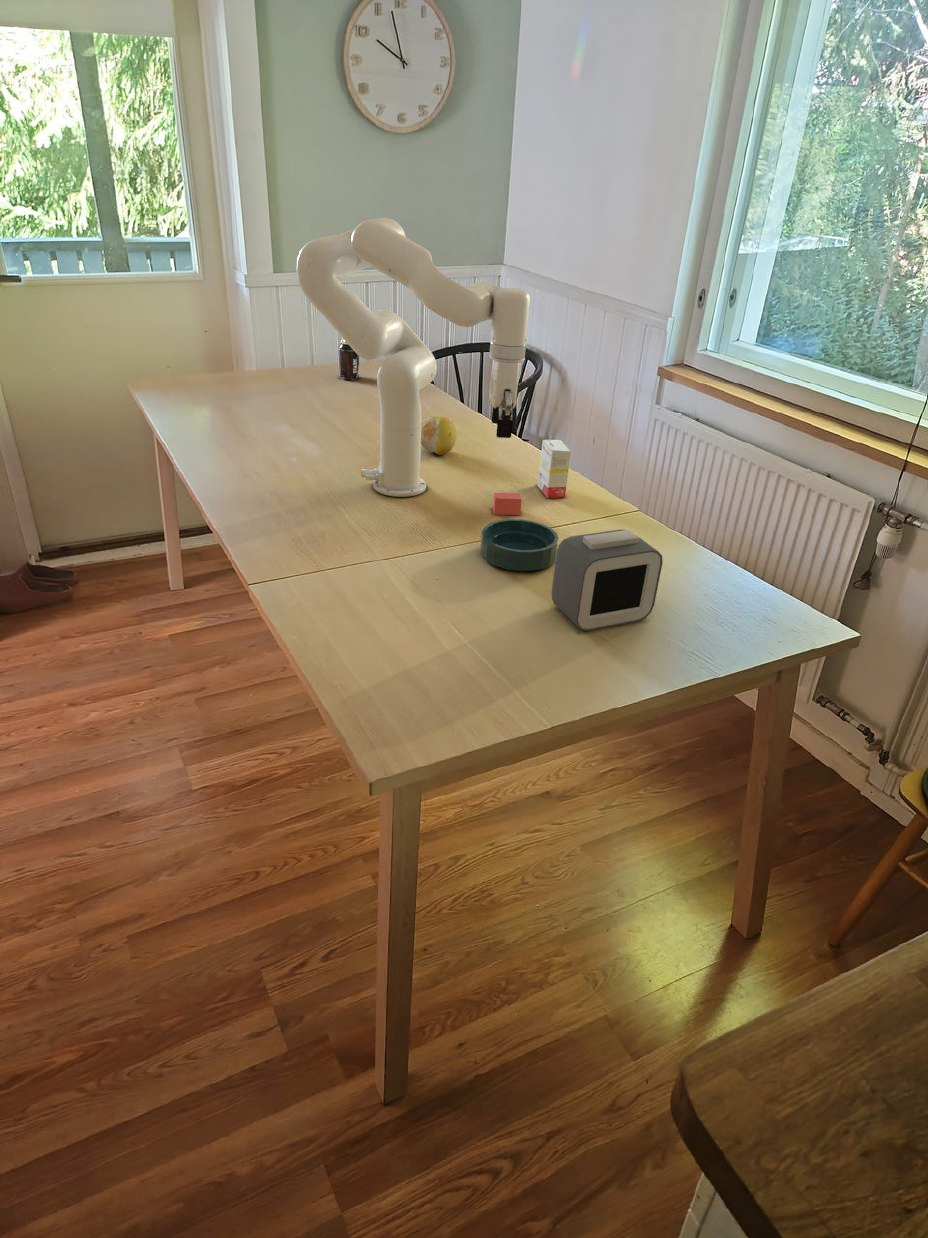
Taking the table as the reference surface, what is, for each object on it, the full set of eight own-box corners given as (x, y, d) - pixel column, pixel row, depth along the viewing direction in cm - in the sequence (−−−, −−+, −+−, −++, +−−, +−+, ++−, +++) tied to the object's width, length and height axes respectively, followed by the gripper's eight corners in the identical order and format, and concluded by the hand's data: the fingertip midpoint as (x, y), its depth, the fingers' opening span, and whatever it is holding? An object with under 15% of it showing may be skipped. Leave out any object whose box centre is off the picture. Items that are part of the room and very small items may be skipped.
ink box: (566, 498, 202) (572, 450, 196) (546, 498, 201) (552, 451, 195) (555, 484, 209) (561, 438, 203) (536, 485, 208) (541, 438, 202)
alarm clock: (574, 633, 148) (586, 554, 140) (544, 603, 157) (553, 527, 149) (651, 619, 154) (666, 542, 146) (618, 590, 163) (630, 516, 155)
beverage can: (336, 379, 280) (335, 342, 274) (342, 374, 286) (341, 338, 279) (356, 381, 279) (355, 344, 273) (361, 376, 285) (361, 340, 279)
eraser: (494, 514, 191) (495, 498, 189) (492, 508, 194) (493, 492, 192) (520, 515, 192) (521, 499, 190) (518, 509, 195) (519, 493, 193)
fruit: (436, 443, 230) (438, 407, 225) (463, 454, 224) (466, 418, 219) (408, 451, 224) (409, 414, 219) (435, 462, 218) (437, 425, 213)
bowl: (484, 573, 166) (485, 551, 163) (477, 539, 179) (478, 518, 177) (561, 575, 167) (564, 552, 165) (548, 541, 181) (551, 519, 178)
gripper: (485, 341, 184) (480, 417, 193) (494, 360, 169) (488, 442, 178) (519, 342, 185) (512, 418, 194) (531, 362, 170) (523, 443, 179)
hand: (501, 429), depth 186 cm, fingers open, 9 cm apart
